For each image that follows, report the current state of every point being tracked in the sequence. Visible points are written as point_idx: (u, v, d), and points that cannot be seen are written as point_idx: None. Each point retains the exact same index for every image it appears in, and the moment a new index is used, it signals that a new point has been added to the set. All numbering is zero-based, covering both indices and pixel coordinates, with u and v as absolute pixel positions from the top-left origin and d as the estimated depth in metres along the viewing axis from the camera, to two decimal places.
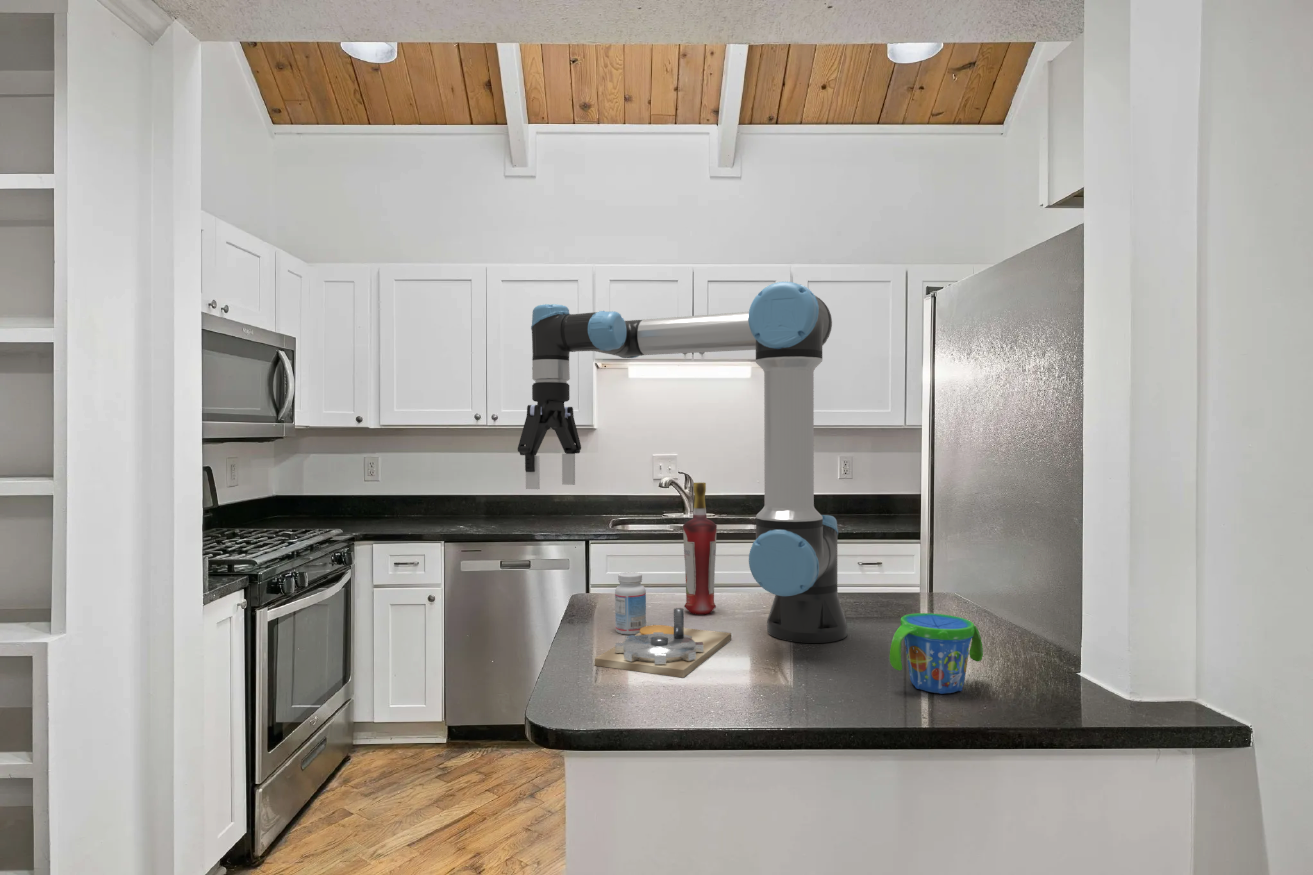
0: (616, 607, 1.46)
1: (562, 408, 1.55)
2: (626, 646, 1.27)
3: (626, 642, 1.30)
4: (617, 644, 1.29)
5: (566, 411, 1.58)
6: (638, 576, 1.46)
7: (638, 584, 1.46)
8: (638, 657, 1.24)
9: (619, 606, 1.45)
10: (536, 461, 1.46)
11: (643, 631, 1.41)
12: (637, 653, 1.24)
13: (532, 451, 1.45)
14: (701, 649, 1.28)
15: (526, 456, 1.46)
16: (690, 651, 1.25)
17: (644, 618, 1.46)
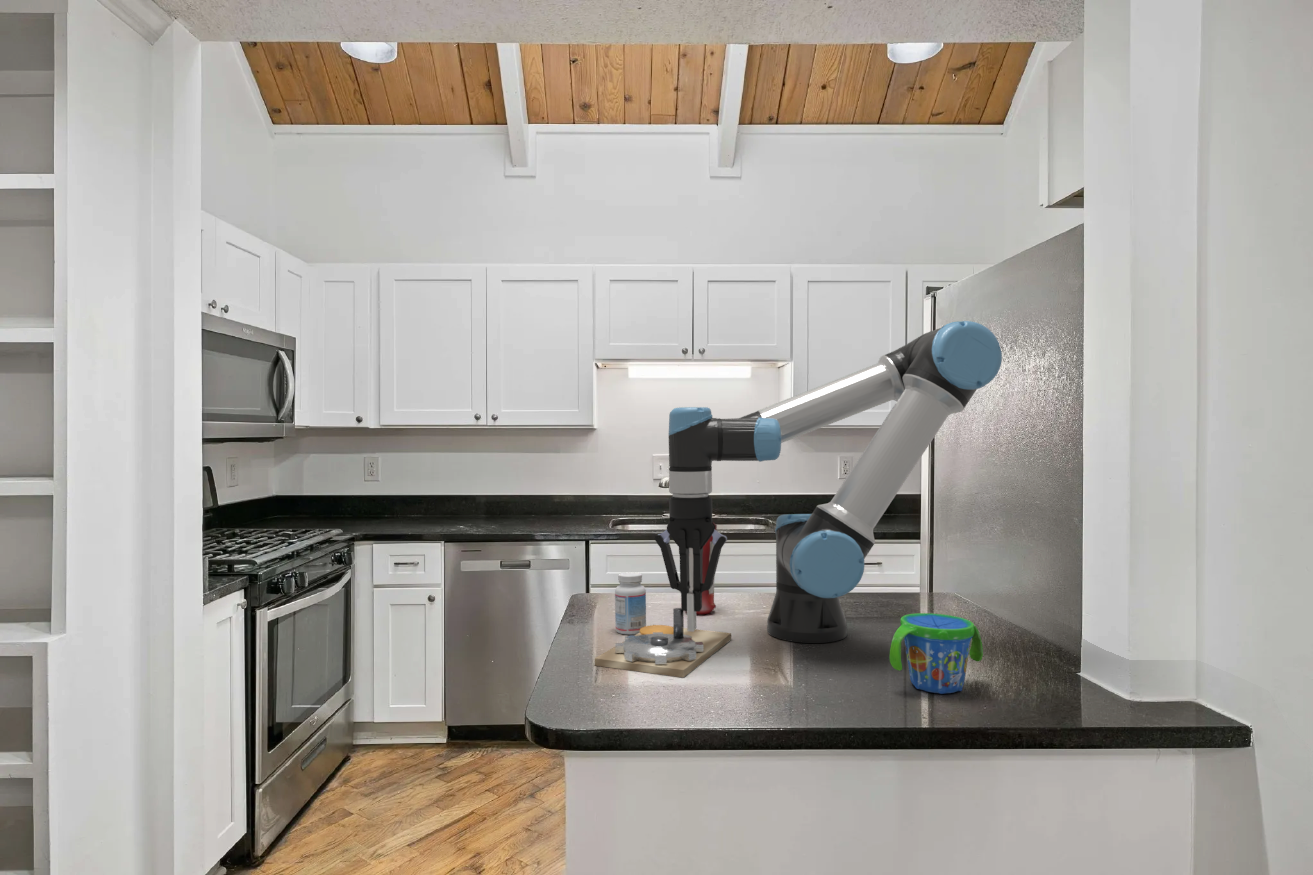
0: (616, 607, 1.46)
1: (707, 525, 1.30)
2: (626, 646, 1.27)
3: (626, 642, 1.30)
4: (617, 644, 1.29)
5: (717, 537, 1.31)
6: (638, 576, 1.46)
7: (638, 584, 1.46)
8: (638, 657, 1.24)
9: (619, 606, 1.45)
10: (687, 600, 1.31)
11: (643, 631, 1.41)
12: (637, 653, 1.24)
13: (681, 590, 1.32)
14: (701, 649, 1.28)
15: None
16: (690, 651, 1.25)
17: (644, 618, 1.46)
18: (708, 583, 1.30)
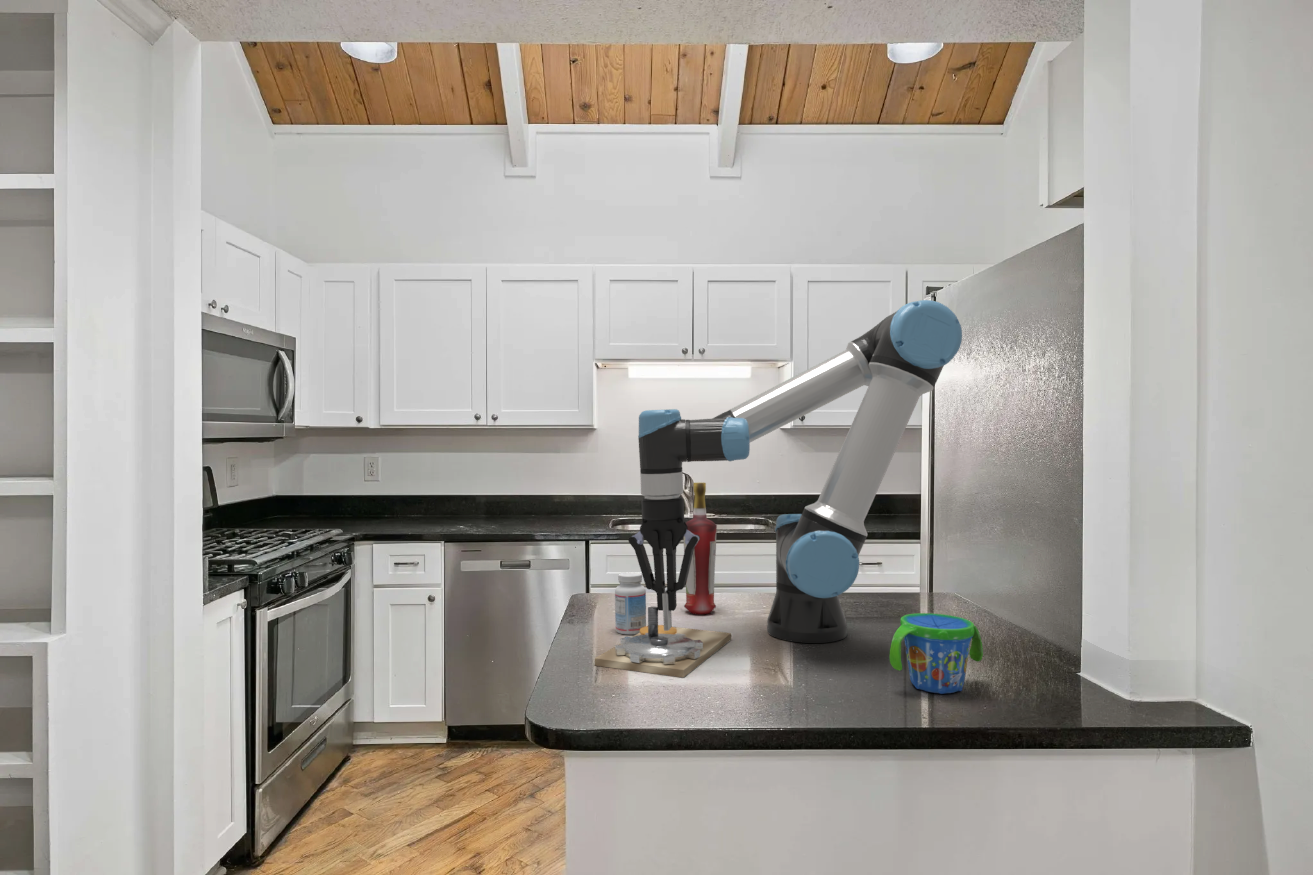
0: (616, 607, 1.46)
1: (679, 526, 1.32)
2: (650, 652, 1.24)
3: (637, 650, 1.25)
4: (636, 654, 1.23)
5: (689, 537, 1.32)
6: (638, 576, 1.46)
7: (638, 584, 1.46)
8: None
9: (619, 606, 1.45)
10: (662, 599, 1.33)
11: (643, 631, 1.41)
12: (673, 654, 1.23)
13: (656, 590, 1.33)
14: None
15: None
16: (697, 640, 1.31)
17: (644, 618, 1.46)
18: (681, 583, 1.32)
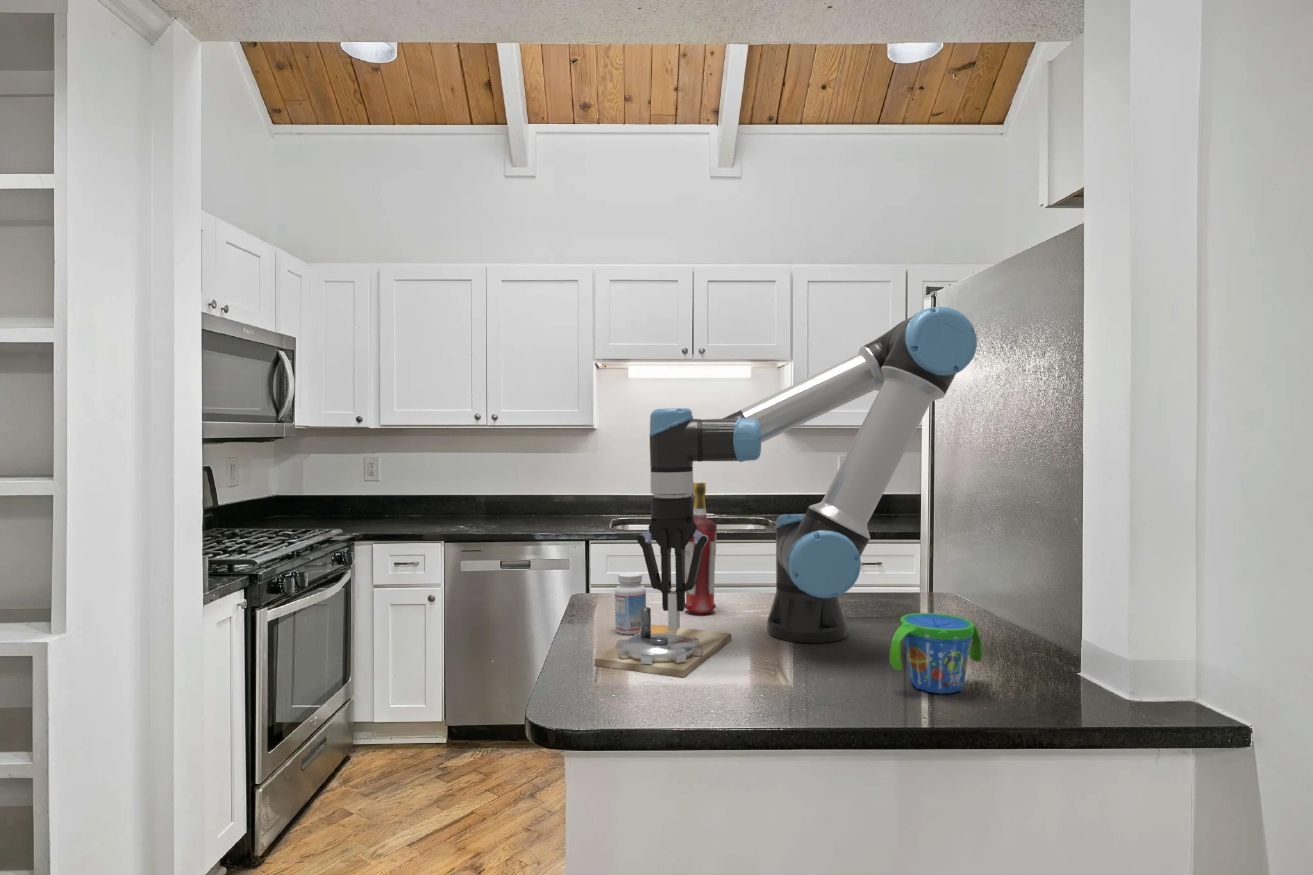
0: (616, 607, 1.46)
1: (688, 525, 1.31)
2: (660, 653, 1.23)
3: (645, 652, 1.24)
4: (647, 655, 1.22)
5: (698, 537, 1.31)
6: (638, 576, 1.46)
7: (638, 584, 1.46)
8: None
9: (619, 606, 1.45)
10: (668, 599, 1.32)
11: None
12: (682, 653, 1.24)
13: (662, 590, 1.32)
14: None
15: None
16: (692, 638, 1.33)
17: None
18: (690, 583, 1.31)
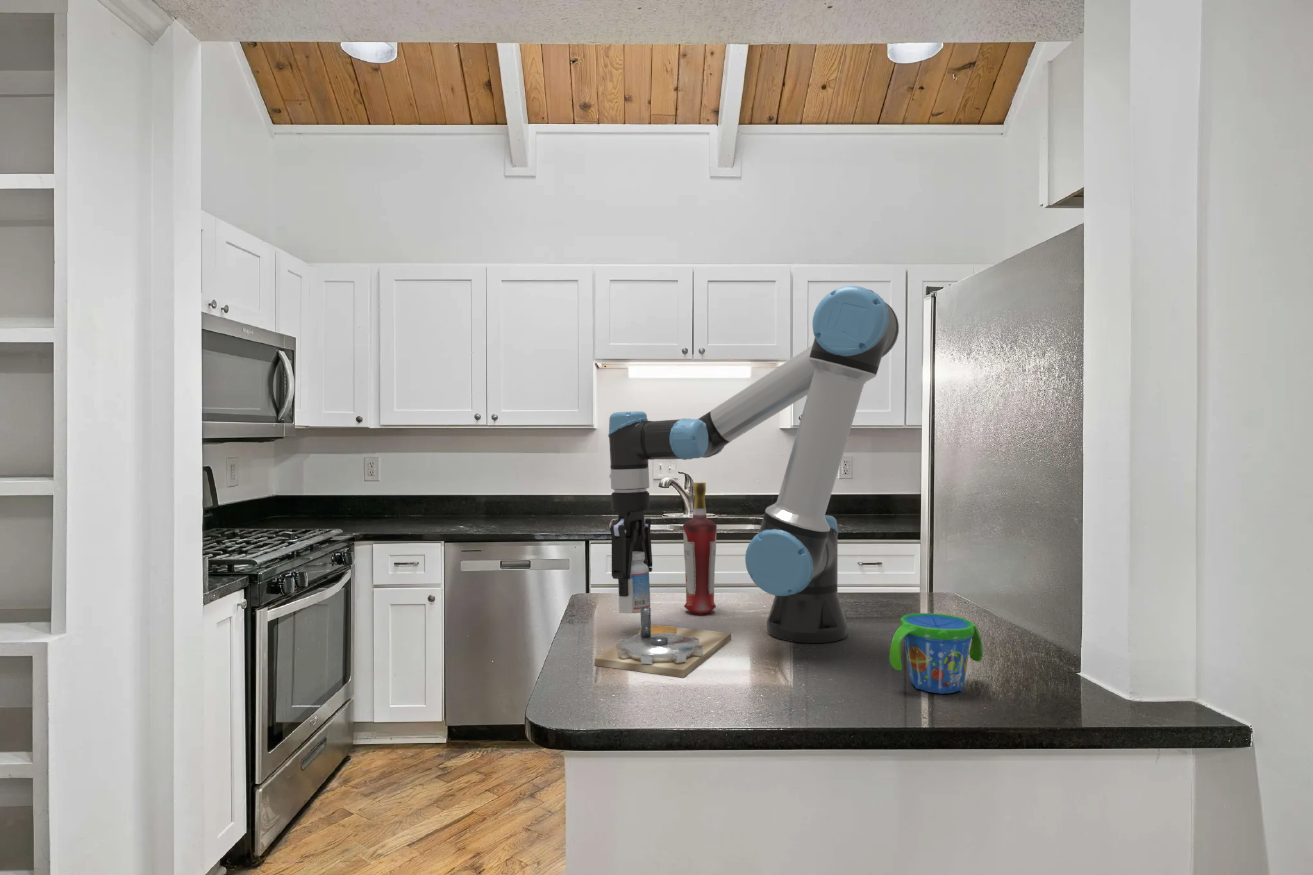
0: None
1: (642, 515, 1.49)
2: (660, 653, 1.23)
3: (645, 652, 1.24)
4: (647, 655, 1.22)
5: (644, 521, 1.52)
6: (641, 554, 1.46)
7: (641, 562, 1.46)
8: None
9: None
10: (630, 585, 1.43)
11: None
12: (682, 653, 1.24)
13: (626, 576, 1.42)
14: None
15: (620, 580, 1.43)
16: (692, 638, 1.33)
17: (648, 596, 1.46)
18: (651, 560, 1.52)
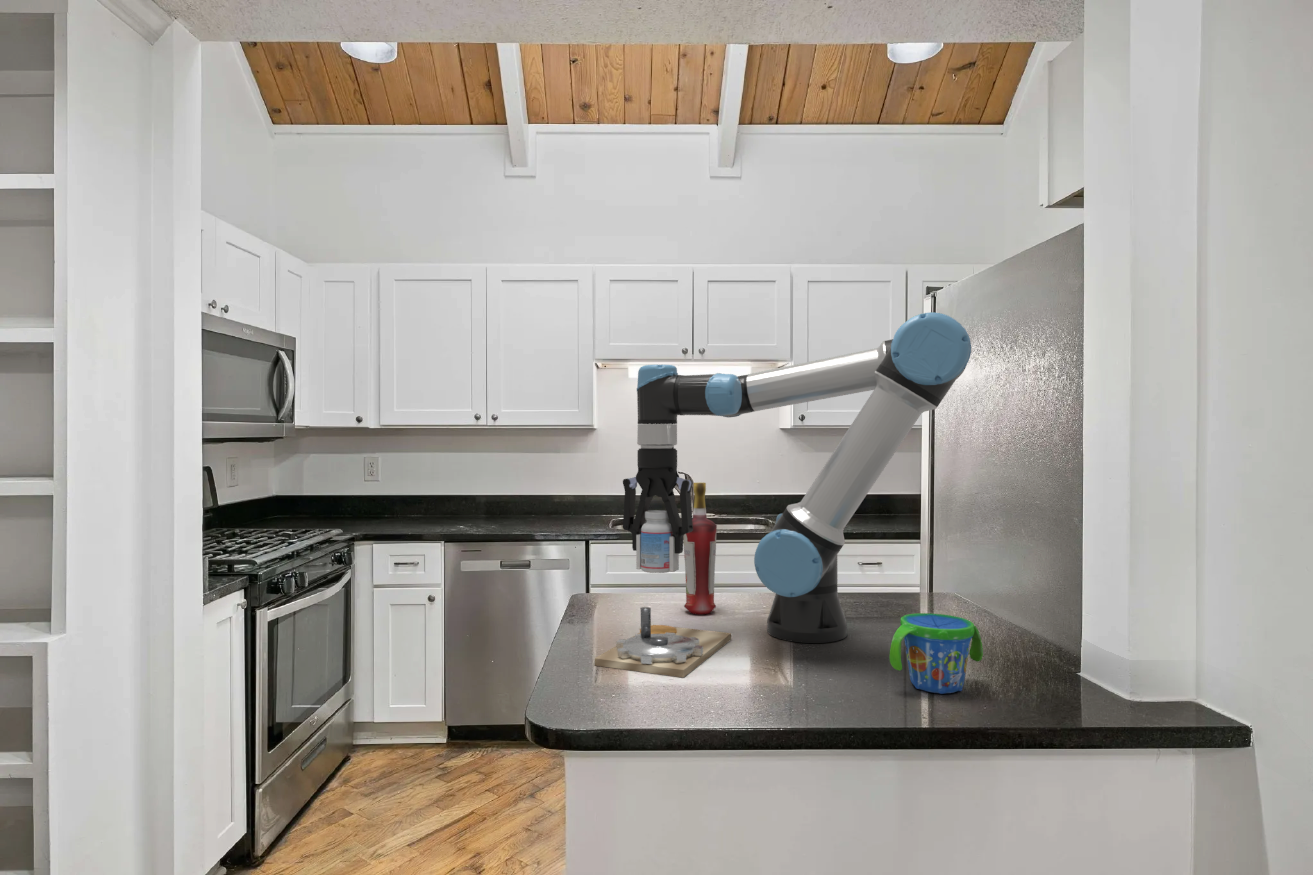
0: None
1: (669, 475, 1.40)
2: (660, 653, 1.23)
3: (645, 652, 1.24)
4: (647, 655, 1.22)
5: (681, 483, 1.40)
6: (649, 513, 1.41)
7: (650, 522, 1.41)
8: None
9: None
10: None
11: None
12: (682, 653, 1.24)
13: None
14: None
15: None
16: (692, 638, 1.33)
17: (650, 558, 1.39)
18: (685, 526, 1.39)
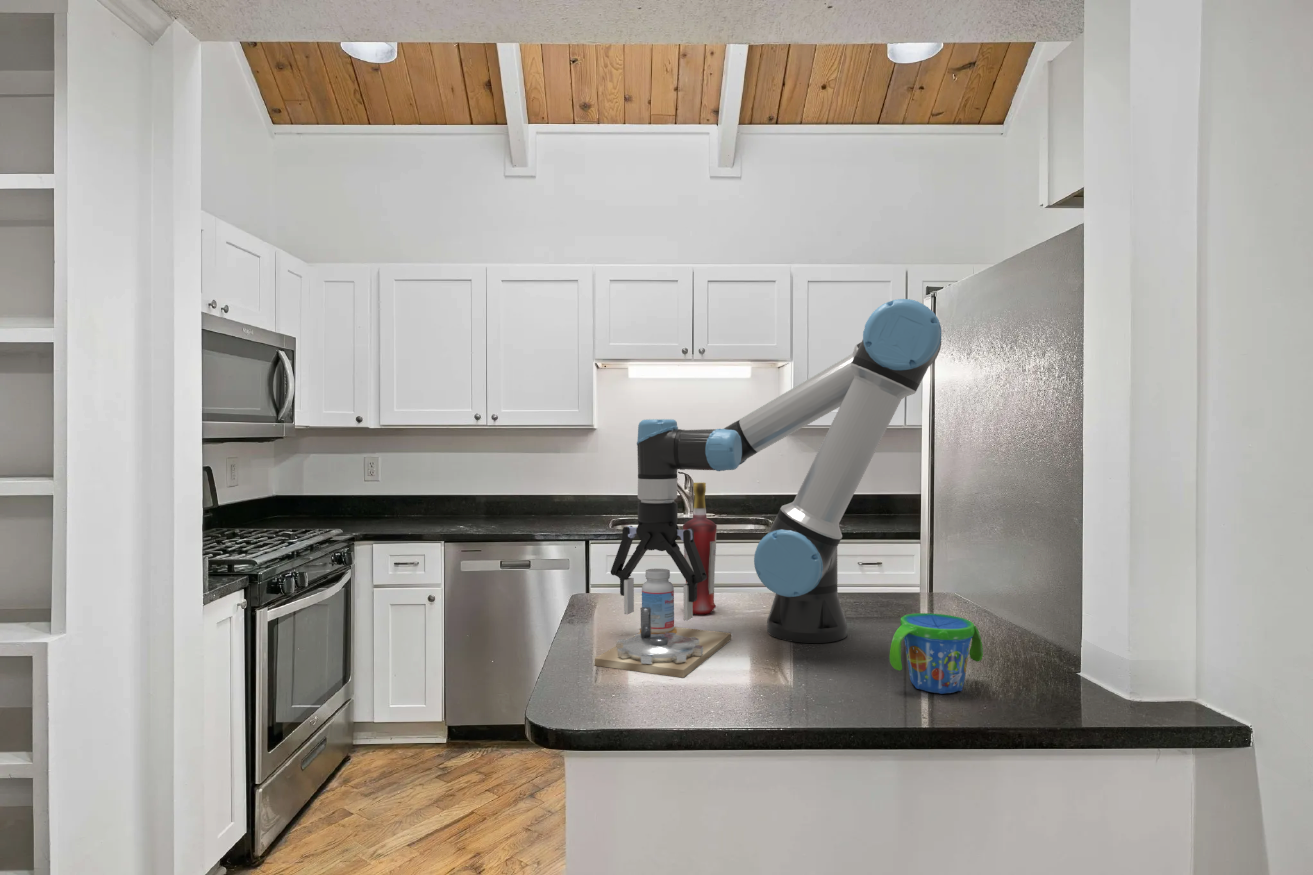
0: None
1: (668, 529, 1.40)
2: (660, 653, 1.23)
3: (645, 652, 1.24)
4: (647, 655, 1.22)
5: (682, 534, 1.40)
6: (649, 573, 1.41)
7: (651, 581, 1.41)
8: None
9: None
10: None
11: None
12: (682, 653, 1.24)
13: None
14: None
15: None
16: (692, 638, 1.33)
17: (651, 618, 1.39)
18: (698, 575, 1.38)
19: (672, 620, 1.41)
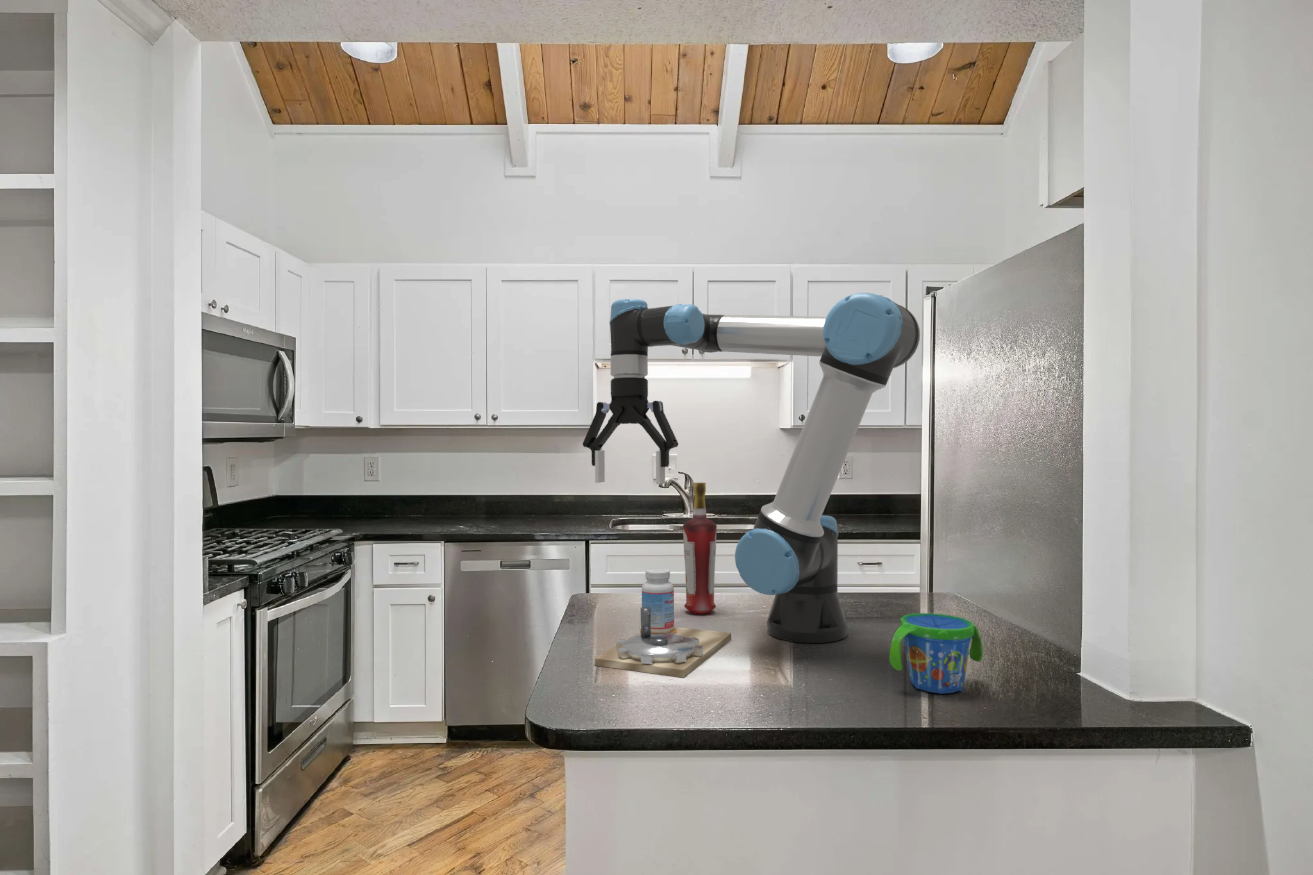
0: None
1: (639, 403, 1.50)
2: (660, 653, 1.23)
3: (645, 652, 1.24)
4: (647, 655, 1.22)
5: (652, 406, 1.49)
6: (649, 573, 1.40)
7: (651, 581, 1.41)
8: None
9: None
10: None
11: None
12: (682, 653, 1.24)
13: None
14: None
15: None
16: (692, 638, 1.33)
17: (651, 618, 1.39)
18: (670, 440, 1.47)
19: (672, 620, 1.41)
